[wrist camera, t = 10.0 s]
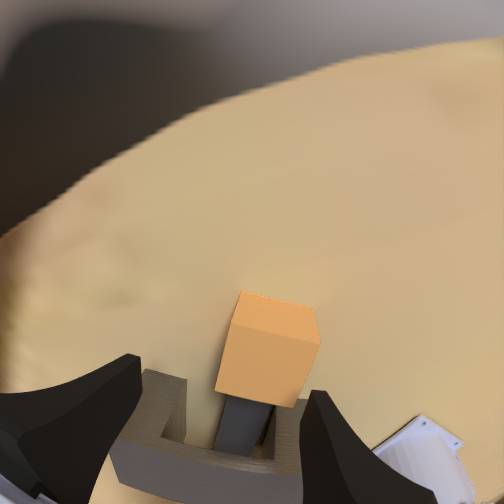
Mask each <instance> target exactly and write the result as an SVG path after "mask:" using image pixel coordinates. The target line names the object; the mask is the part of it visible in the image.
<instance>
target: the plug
mask: <svg viewBox="0 0 504 504" xmlns="http://www.w3.org/2000/svg"><path fill="white" fill-rule="evenodd" d="M320 344H321V343H320V339H319V335H318V331H317V326H316V322H315V318H314V314H313V310H312V308H310V307H306V306H302V305H298V304H293V303H289V302H285V301H281V300H277V299H273V298H269V297H265V296H261V295H257V294H253V293H249V292H245V291H242V292H241V294H240V297H239V300H238V303H237V306H236V309H235V311H234V314H233V317H232V320H231V323H230V327H229V331H228V335H227V340H226V344H225V348H224V352H223V356H222V361H221V365H220V369H219V373H218V378H217V382H216V386H215V390H214V391H217V392H221V393H225V394H228V397H227V401H226V404H225V408H224V412H223V415H222V419H221V422H220V426H219V429H218V433H217V437H216V440H215V444H214V447H213V451H218V452H223V453H229V454H234V455H240V456H247V457H250V456H251V453H252V451H253V449H254V447H255V444H256V442H257V440H258V438H259V435H260V433H261V431H262V428H263V426H264V424H265V421H266V419H267V416H268V414H269V412H270V409H271V407H272V404H274V405H279V406H284V407H290V408H293V407H294V405H295V403H296V401H297V399H298V396H299V394H300V392H301V390H302V387H303V385H304V383H305V381H306V378H307V376H308V374H309V371H310V369H311V366H312V364H313V362H314V359H315V357H316V354H317V352H318V349H319V347H320Z"/></svg>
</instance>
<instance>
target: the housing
mask: <svg viewBox="0 0 504 504" xmlns="http://www.w3.org/2000/svg"><path fill="white" fill-rule="evenodd" d="M141 375H142V388H143V393H142V395H141V397H140V400H139V402H138V404H137V406H136V408H135V410H134V412H133V414H132V415H131V417H130V418H129V420H128V422H127V423H126V425H125V426H124V428H123V429H122V431H121V432H120V434H119V435H118V437H117V439H116V440H115V442H114V443H113V445H112V447H111V449H110V450H109V455H110V458H111V460H112V463H113V466H114V469H115V472H116V475H117V477H118V480H119V482H120V483H122V484H125V485H127V486H130V487H132V488H135V489H138V490H141V491H144V492H147V493H150V494H153V495H156V496H159V497H162V498H166V499H169V500H173V501H176V502H180V503H184V504H303V480H302V469H301V459H300V448H299V430H300V421H301V418H302V415H303V413H304V410H305V407H306V404H307V402H308V400H305V399H297V401H296V403H295V405H294V407H293V408H290V407H284V406H279V405H274V409H273V413H272V416H271V420H270V423H269V427H268V430H267V433H266V437H265V440H264V444H263V447H262V453H261V458H254V457H247V456H240V455H234V454H229V453H223V452H218V451H213V450H208V449H204V448H199V447H195V446H191V445H187V444H183V440H184V438H185V435H186V393H187V380H186V379H182V378H178V377H174V376H171V375H167V374H163V373H159V372H156V371H152V370H149V369H145V370H144V371H143V373H142V374H141Z"/></svg>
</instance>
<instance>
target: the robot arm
mask: <svg viewBox="0 0 504 504" xmlns="http://www.w3.org/2000/svg"><path fill="white" fill-rule="evenodd" d="M142 393H143V388H142V375H141V359H140V357H139V356H135V355H132V354H129V353H127V354H125V355H123V356H121V357H120V358H118V359H116V360H114V361H112V362H110V363H108V364H106V365H104V366H103V367H101V368H99V369H97V370H95V371H93V372H91V373H88V374H86V375H84V376H82V377H79V378H77V379H75V380H72V381H70V382H67V383H64V384H61V385H57V386H54V387H50V388H46V389H41V390H36V391H31V392H23V393H0V504H88V503H89V500H90V497H91V494H92V491H93V488H94V485H95V483H96V480H97V478H98V475H99V473H100V470H101V468H102V465H103V463H104V461H105V459H106V457H107V454H108V452H109V450H110V449H111V447H112V445H113V443H114V442H115V440H116V439H117V437H118V435H119V434H120V432H121V431H122V429H123V428H124V426H125V425H126V423H127V422H128V420H129V418H130V417H131V415H132V414H133V412H134V410H135V408H136V406H137V404H138V402H139V400H140V397H141V395H142ZM462 445H463V442H462V440H460V439H459V438H457V437H455V436H454V435H452V434H451V433H449V432H448V431H446V430H445V429H443V428H442V427H440V426H439V425H437V424H436V423H434V422H433V421H431V420H430V419H428V418H427V417H425V416H424V415H420V416H418V417H416V418H415V419H414V420H412V421H411V422H410V423H409V424H408V425H406V426H405V427H404V428H403V429H401V430H400V431H399V432H397V433H396V434H395V435H393V436H392V437H391V438H389V439H388V440H387V441H385V442H384V443H383V444H381V445H380V446H378V447H377V448H375V449H374V450H373V451H371V450H370V449H369V448H368V447H367V446H366V445H365V444H364V443H363V442H362V441H361V439H360V438H359V437H358V436H357V435H356V433H355V432H354V431H353V430H352V428H351V427H350V426H349V424H348V423H347V422H346V420H345V419H344V417H343V416H342V415H341V413H340V412H339V410H338V409H337V407H336V406H335V404H334V402H333V401H332V399H331V398H330V396H329V395H328V393H327V392H326V391H321V390H311V393H310V396H309V399H308V402H307V404H306V407H305V410H304V413H303V415H302V418H301V421H300V430H299V448H300V459H301V469H302V480H303V504H474V503H475V495H476V494H475V489H474V486H473V484H472V482H471V480H470V478H469V476H468V474H467V472H466V470H465V467H464V465H463V463H462V461H461V459H460V458H459V456H458V454H457V452H456V451H457V450H458V449H459V448H460V447H461V446H462ZM481 504H494V503H490V502H488V503H487V502H482V503H481Z"/></svg>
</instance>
